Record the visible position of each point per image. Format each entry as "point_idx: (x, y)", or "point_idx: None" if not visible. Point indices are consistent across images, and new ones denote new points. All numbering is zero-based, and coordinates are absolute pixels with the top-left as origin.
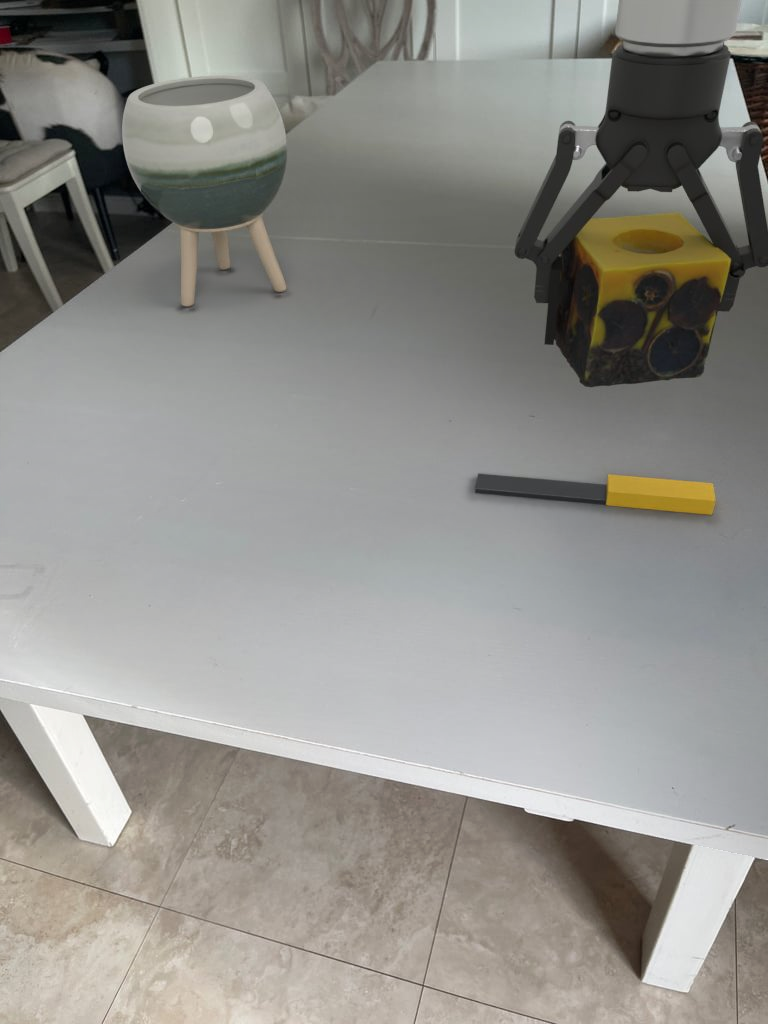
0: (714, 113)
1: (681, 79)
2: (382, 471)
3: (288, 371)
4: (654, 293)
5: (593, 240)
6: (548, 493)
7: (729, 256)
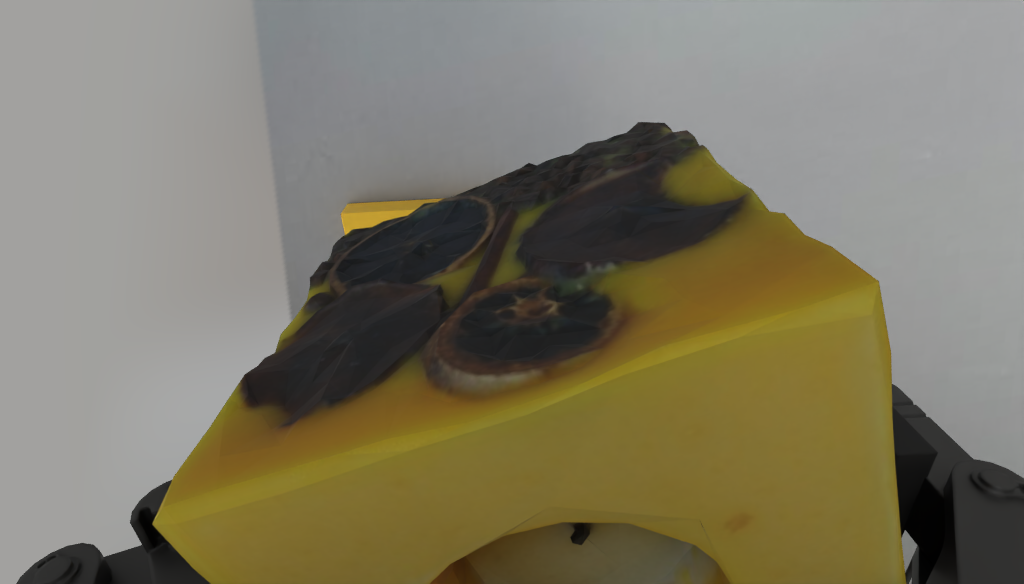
0: None
1: None
2: (871, 210)
3: (1007, 425)
4: (515, 314)
5: None
6: None
7: (198, 574)
